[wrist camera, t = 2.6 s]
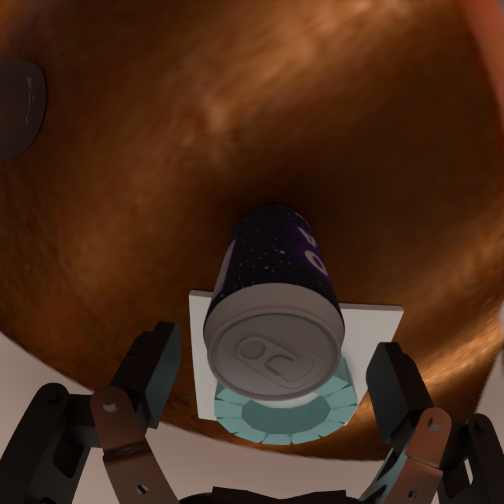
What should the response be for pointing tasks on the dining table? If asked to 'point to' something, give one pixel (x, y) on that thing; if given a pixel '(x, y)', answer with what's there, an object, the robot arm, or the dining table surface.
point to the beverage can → (273, 310)
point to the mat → (353, 349)
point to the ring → (289, 413)
